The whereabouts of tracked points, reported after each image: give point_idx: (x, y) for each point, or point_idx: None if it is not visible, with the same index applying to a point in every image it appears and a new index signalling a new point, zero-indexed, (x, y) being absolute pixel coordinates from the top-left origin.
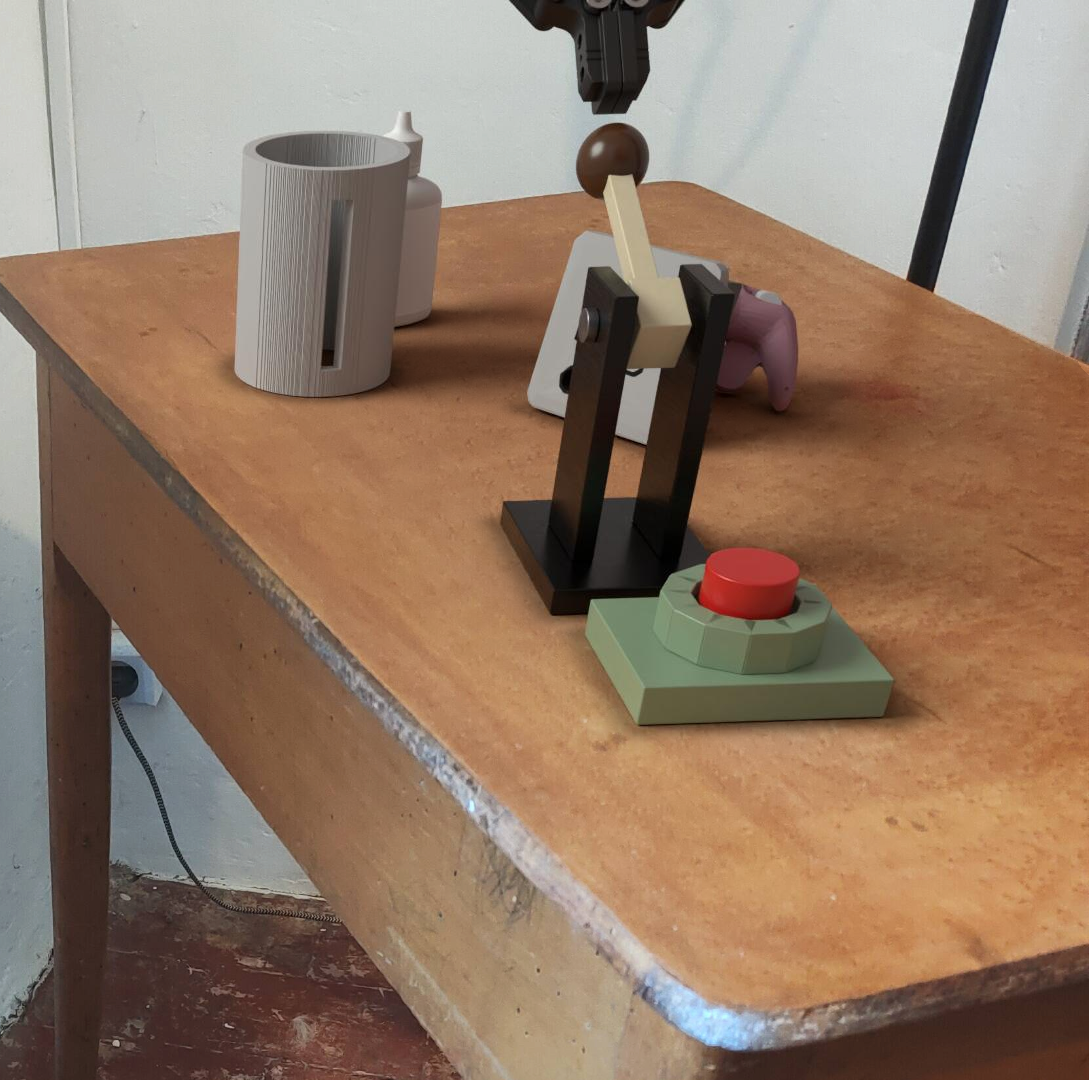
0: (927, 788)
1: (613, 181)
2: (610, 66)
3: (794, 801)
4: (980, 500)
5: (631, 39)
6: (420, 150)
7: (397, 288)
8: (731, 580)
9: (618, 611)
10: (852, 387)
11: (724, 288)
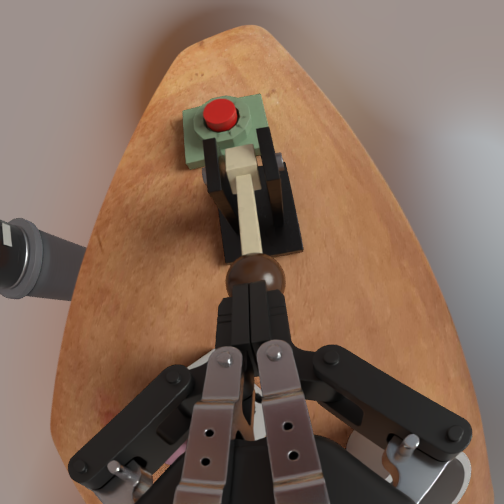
0: (187, 89)
1: (258, 247)
2: (261, 291)
3: (224, 77)
4: (99, 296)
5: (236, 318)
6: None
7: None
8: (229, 100)
9: None
10: None
11: (205, 147)
